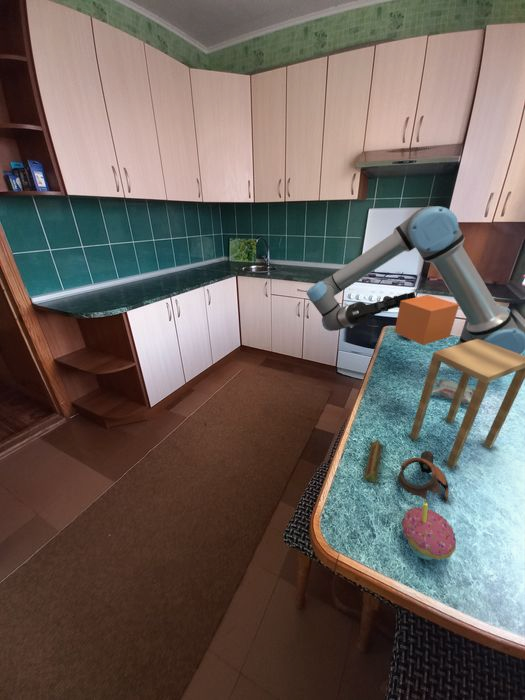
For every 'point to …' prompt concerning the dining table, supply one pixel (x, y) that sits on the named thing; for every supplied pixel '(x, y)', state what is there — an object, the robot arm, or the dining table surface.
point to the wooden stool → (481, 365)
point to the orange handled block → (425, 318)
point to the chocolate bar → (373, 462)
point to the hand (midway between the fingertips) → (410, 297)
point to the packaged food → (452, 391)
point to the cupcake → (428, 533)
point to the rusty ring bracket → (427, 467)
